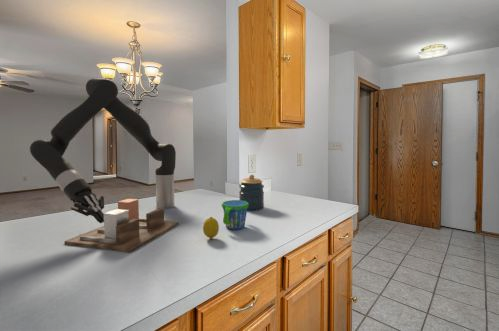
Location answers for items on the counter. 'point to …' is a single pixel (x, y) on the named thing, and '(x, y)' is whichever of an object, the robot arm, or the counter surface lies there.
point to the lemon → (210, 227)
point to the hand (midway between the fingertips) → (103, 221)
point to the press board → (127, 233)
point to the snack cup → (235, 214)
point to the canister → (252, 193)
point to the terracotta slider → (130, 207)
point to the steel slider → (114, 221)
